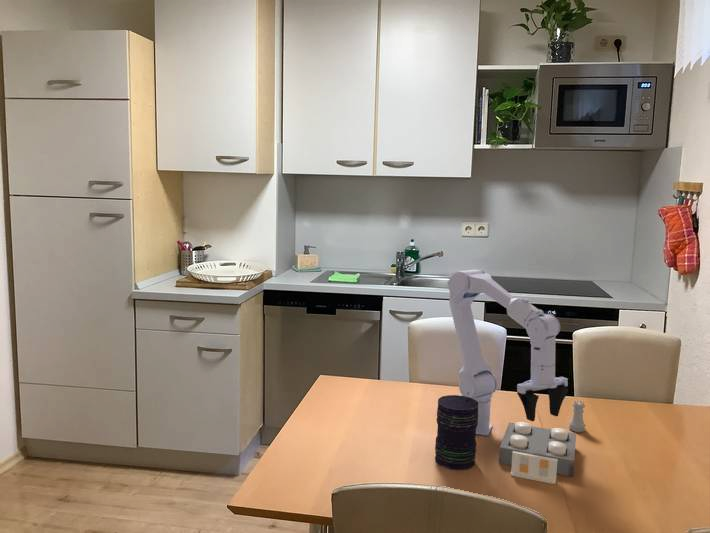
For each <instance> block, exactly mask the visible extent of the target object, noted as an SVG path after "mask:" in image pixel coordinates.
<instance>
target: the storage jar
mask: <svg viewBox="0 0 710 533" xmlns="http://www.w3.org/2000/svg"><path fill="white" fill-rule="evenodd" d="M459 395H460V394H458V395H456V394H452V395H443V396H441V397H439V398H437V399H438V400H437V409H436V424H437V432H436V437H435V445H434V452H435V457H434V461H435V463H436V464H437V465H439V466H440V467H442V468H444V469H447V470H453V471H465V470H469V469H473V467H474V466H476V455H477V440H476V437H477V436H476V435H477V434H476V428H477V424H478V402H477V401H476V400H474V399H472V398H469V397H466V396H459Z"/></svg>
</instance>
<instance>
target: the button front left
mask: <svg viewBox="0 0 710 533" xmlns="http://www.w3.org/2000/svg"><path fill="white" fill-rule="evenodd" d="M509 446H512V447H517V448H523V449H527V448H528V446H527V438H526V437H525V436H522V435H512V436H511V439H510V444H509Z"/></svg>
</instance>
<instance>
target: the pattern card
mask: <svg viewBox="0 0 710 533" xmlns="http://www.w3.org/2000/svg"><path fill="white" fill-rule="evenodd" d="M557 461H558V459H553V458H548V457H542V456H537V455H532V454H526V453H521V452H515V451H513V452H512V465H510V466H511V467H510V468H511V469H510V475H509V476H511V477H517V478H521V479H527V480H532V481H535V482H542V483H547V484H552V485H556V483H557V475H558V474H557Z"/></svg>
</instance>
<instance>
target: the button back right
mask: <svg viewBox="0 0 710 533" xmlns="http://www.w3.org/2000/svg"><path fill="white" fill-rule="evenodd" d="M568 432H569V431H568V430H567V429H565V428H561V427H553V428H551V439H555V440H561V441H567V438H568Z"/></svg>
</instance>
